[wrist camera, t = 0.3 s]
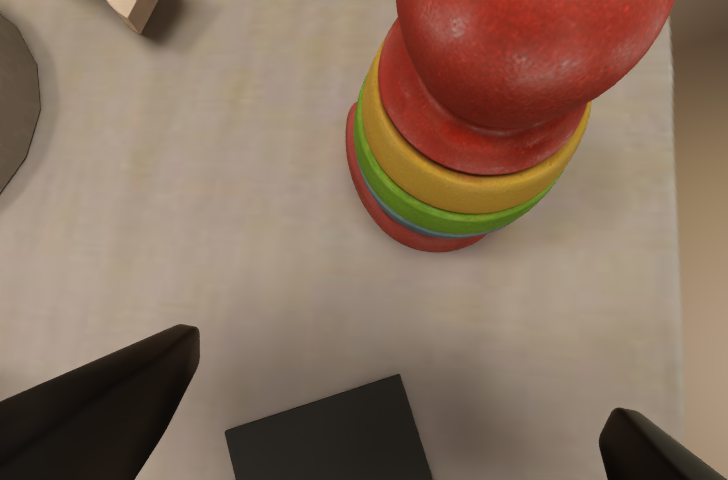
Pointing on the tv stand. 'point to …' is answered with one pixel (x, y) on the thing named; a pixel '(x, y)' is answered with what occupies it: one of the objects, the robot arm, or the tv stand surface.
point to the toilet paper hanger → (134, 12)
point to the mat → (334, 439)
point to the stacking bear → (484, 108)
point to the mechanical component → (16, 99)
